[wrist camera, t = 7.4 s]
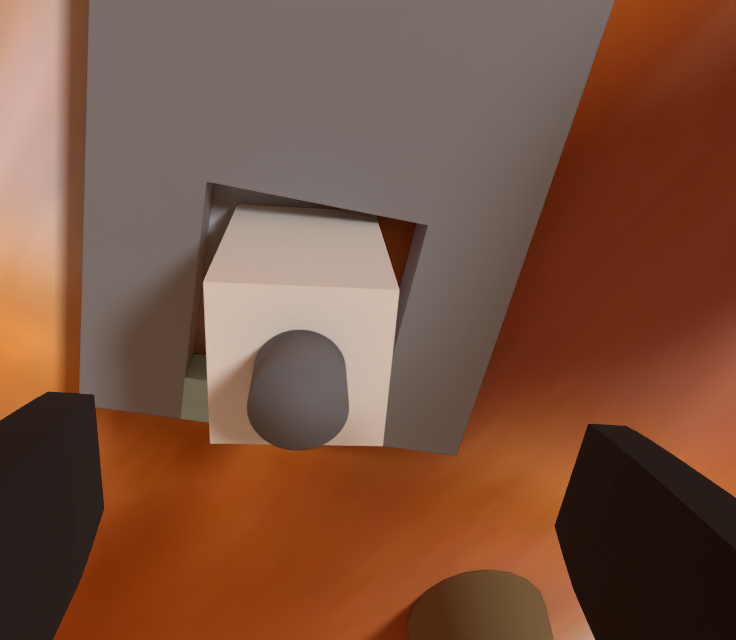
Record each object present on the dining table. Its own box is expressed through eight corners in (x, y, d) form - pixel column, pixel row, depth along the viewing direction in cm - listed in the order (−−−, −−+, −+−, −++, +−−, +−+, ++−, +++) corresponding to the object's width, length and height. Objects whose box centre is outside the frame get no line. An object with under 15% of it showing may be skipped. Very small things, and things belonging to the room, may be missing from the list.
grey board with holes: (757, -504, 12) (812, -570, 11) (447, 429, 22) (456, 455, 20) (138, -773, 10) (111, -895, 9) (95, 379, 20) (78, 405, 18)
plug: (374, 211, 18) (409, 321, 11) (364, 332, 20) (389, 489, 13) (237, 204, 18) (188, 313, 11) (239, 327, 19) (198, 487, 13)
